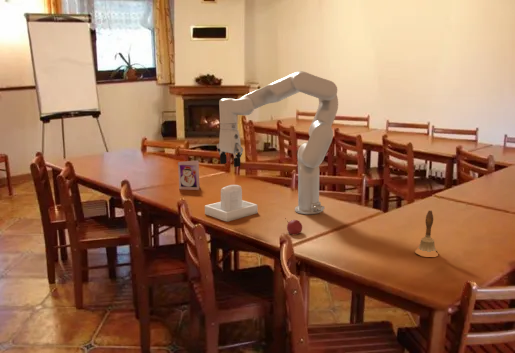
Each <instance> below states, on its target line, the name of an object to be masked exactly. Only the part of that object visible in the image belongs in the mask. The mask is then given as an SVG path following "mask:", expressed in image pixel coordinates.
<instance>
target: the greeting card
mask: <svg viewBox="0 0 515 353" xmlns="http://www.w3.org/2000/svg"><path fill="white" fill-rule="evenodd" d="M177 168H178V169H177V173H178V189H179V190H186V191H187V190H188V191H190V190H191V191H193V190H194V191H200V184H201V183H200V163H199V160H187V161H178V162H177Z"/></svg>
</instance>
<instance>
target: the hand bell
mask: <svg viewBox="0 0 515 353" xmlns="http://www.w3.org/2000/svg"><path fill="white" fill-rule="evenodd" d="M433 224H434V215H433V211H432V210H428V211H427V213H426V216H425V226H426V227H425V228H426V229H425V236H424V237H422V238H421V239H420V244H419V246H418V247H417V248H419V249H420V250H422V251H427V252H431V251H435V250H436V251H437V249H436V246H435V239H434V238H432V237H431V235H432V226H433Z"/></svg>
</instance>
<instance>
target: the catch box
mask: <svg viewBox="0 0 515 353" xmlns="http://www.w3.org/2000/svg"><path fill="white" fill-rule="evenodd" d="M258 207H259V206H258V203H257V204H256V203H253V202H250V201H247V200H243V199H242V208H240V209H236V210H233V211H229V212H225V211H222V210H221V201H218V202H215V203H210V204H206V205H204V215H207V216H210V217H213V218H214V219H218V220H221V221H224V222H230V221H231V222H232V221H234V220H238V219H242V218H245V217H249V216H252V215H255V214H258Z"/></svg>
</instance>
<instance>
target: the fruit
mask: <svg viewBox="0 0 515 353" xmlns="http://www.w3.org/2000/svg"><path fill="white" fill-rule="evenodd" d="M286 219H287V218H285V220H286ZM286 221H287V225H286V230H287V232H288V234H290V235H293V234H297V235H300V234H301V232H302V231H303V225H302V223H301V222H300V220H297V219H292V220H290V221H288V220H286Z"/></svg>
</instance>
